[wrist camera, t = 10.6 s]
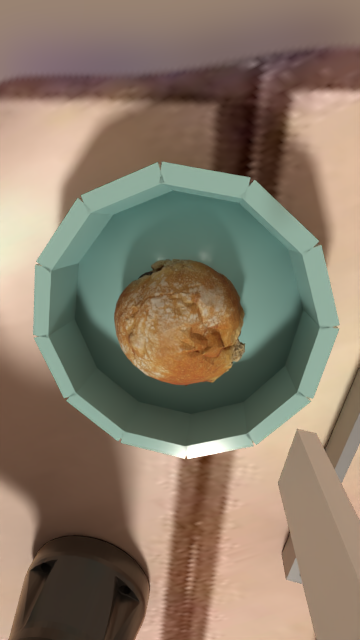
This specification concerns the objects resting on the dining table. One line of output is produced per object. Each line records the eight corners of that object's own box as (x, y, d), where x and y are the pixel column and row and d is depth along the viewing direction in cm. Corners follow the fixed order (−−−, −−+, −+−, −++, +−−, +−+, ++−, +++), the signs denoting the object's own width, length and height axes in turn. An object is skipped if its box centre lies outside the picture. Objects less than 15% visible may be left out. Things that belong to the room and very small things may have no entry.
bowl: (271, 440, 29) (281, 482, 24) (60, 390, 30) (30, 420, 26) (351, 206, 22) (387, 202, 18) (75, 155, 24) (38, 139, 19)
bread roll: (210, 246, 27) (175, 211, 20) (277, 343, 25) (265, 345, 17) (129, 309, 30) (72, 299, 23) (181, 403, 27) (136, 426, 20)
